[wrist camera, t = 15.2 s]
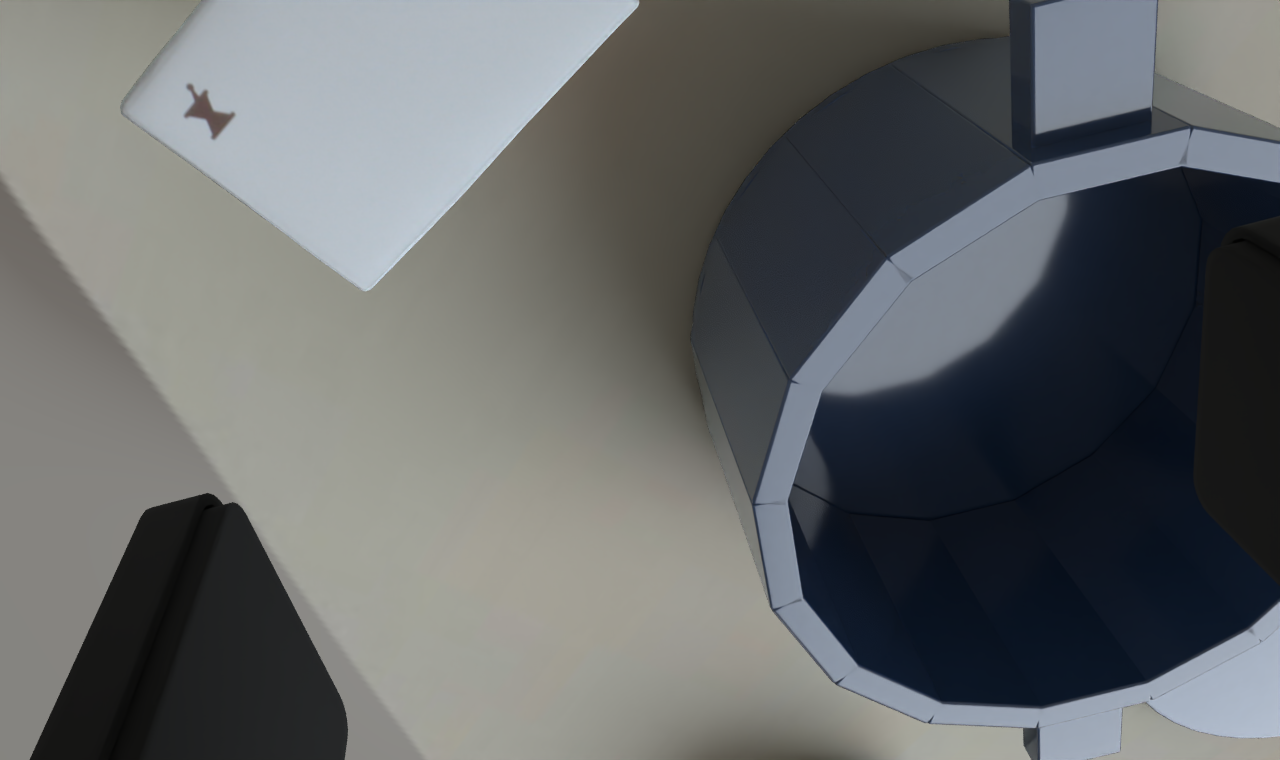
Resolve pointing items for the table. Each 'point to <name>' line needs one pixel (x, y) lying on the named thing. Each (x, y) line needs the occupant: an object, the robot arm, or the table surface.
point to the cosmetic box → (359, 107)
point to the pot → (990, 377)
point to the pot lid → (1231, 696)
